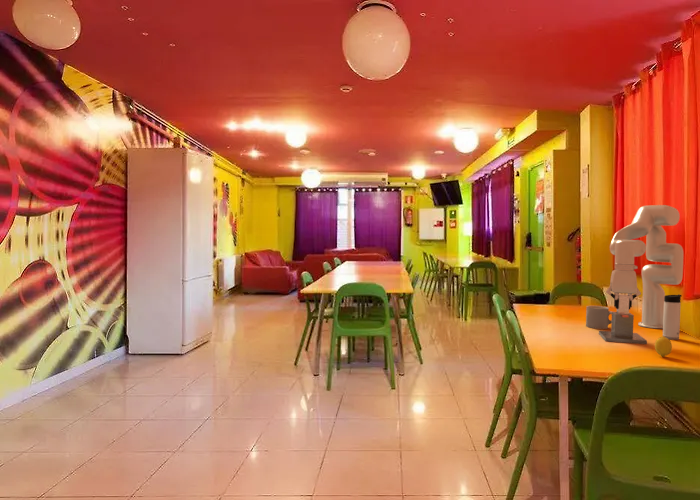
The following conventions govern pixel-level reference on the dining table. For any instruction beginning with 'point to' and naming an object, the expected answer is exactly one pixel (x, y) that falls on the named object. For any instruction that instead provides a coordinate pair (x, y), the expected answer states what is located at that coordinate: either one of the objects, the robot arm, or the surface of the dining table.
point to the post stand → (622, 330)
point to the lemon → (663, 346)
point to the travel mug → (671, 316)
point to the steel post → (623, 304)
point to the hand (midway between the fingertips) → (622, 308)
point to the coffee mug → (597, 317)
